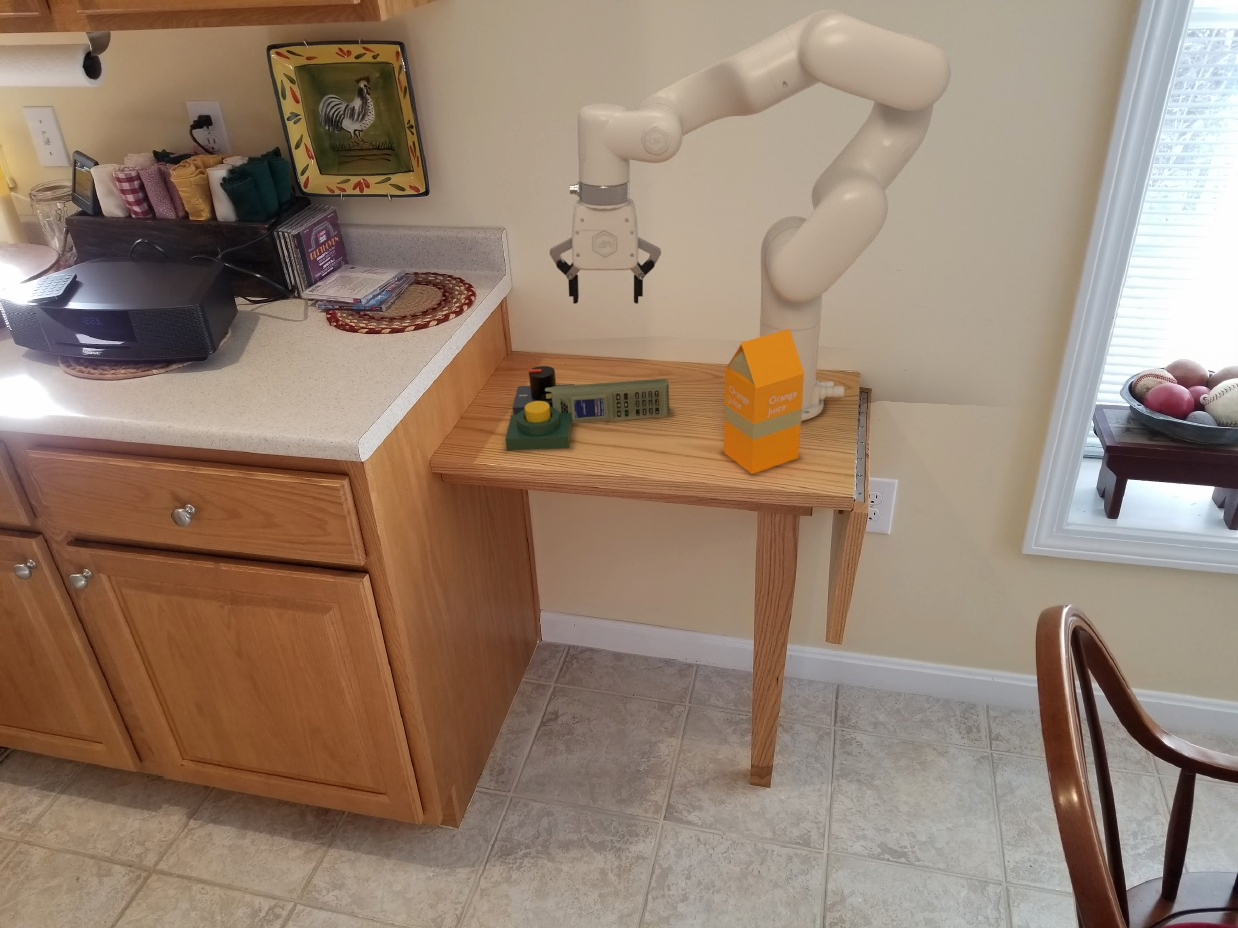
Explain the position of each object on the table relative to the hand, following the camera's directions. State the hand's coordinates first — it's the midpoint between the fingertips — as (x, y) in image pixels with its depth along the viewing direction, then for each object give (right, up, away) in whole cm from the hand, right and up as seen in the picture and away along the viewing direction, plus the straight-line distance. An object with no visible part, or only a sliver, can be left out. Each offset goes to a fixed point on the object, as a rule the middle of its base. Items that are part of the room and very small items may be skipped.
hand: (606, 300), depth 145 cm
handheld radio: (-2, -19, +9) cm, 21 cm away
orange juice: (+24, -25, -5) cm, 35 cm away
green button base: (-11, -22, +3) cm, 25 cm away
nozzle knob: (-11, -14, +11) cm, 21 cm away
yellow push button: (-11, -19, +1) cm, 22 cm away
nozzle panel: (-11, -17, +12) cm, 23 cm away
